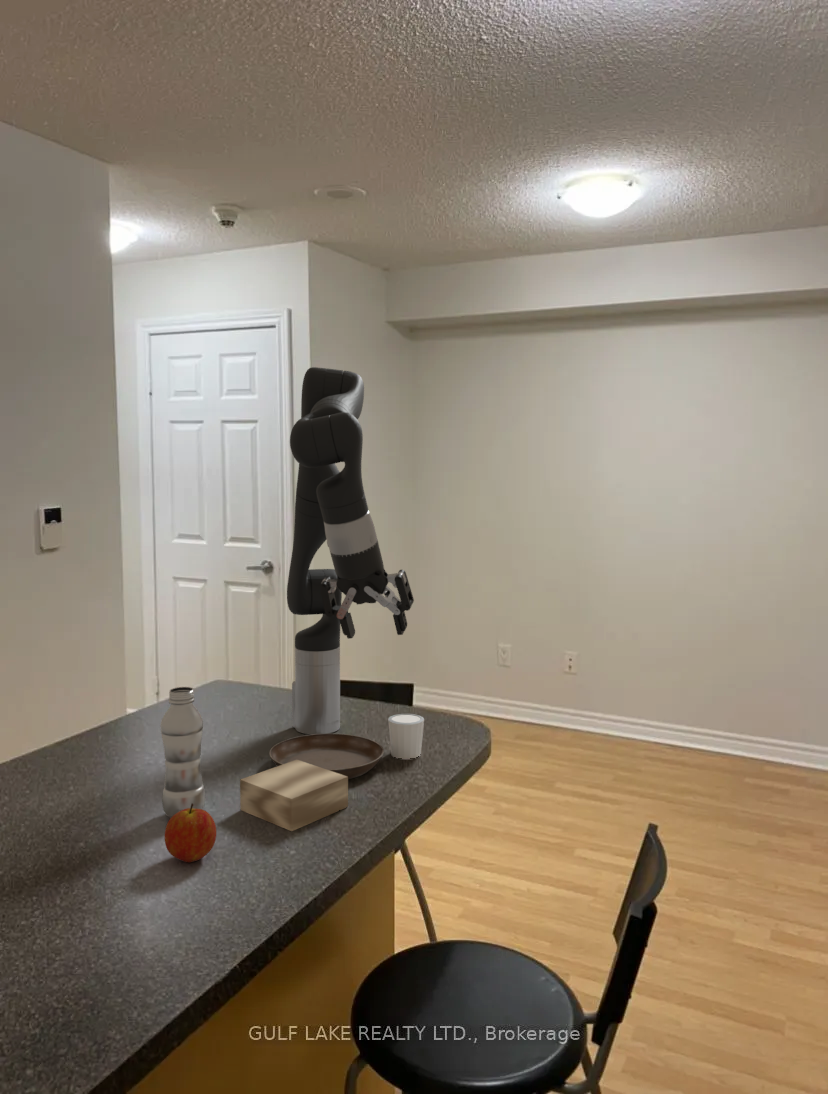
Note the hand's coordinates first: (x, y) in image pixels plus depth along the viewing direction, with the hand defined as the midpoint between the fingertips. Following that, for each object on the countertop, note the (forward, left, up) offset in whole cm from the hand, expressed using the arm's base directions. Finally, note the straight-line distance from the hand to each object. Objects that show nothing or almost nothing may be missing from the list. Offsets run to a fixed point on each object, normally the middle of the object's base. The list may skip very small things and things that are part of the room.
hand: (376, 634), depth 135 cm
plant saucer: (-18, +6, -28) cm, 34 cm away
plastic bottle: (-19, -24, -28) cm, 41 cm away
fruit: (-6, -32, -28) cm, 43 cm away
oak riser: (-8, -11, -28) cm, 31 cm away
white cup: (-11, +20, -28) cm, 36 cm away
